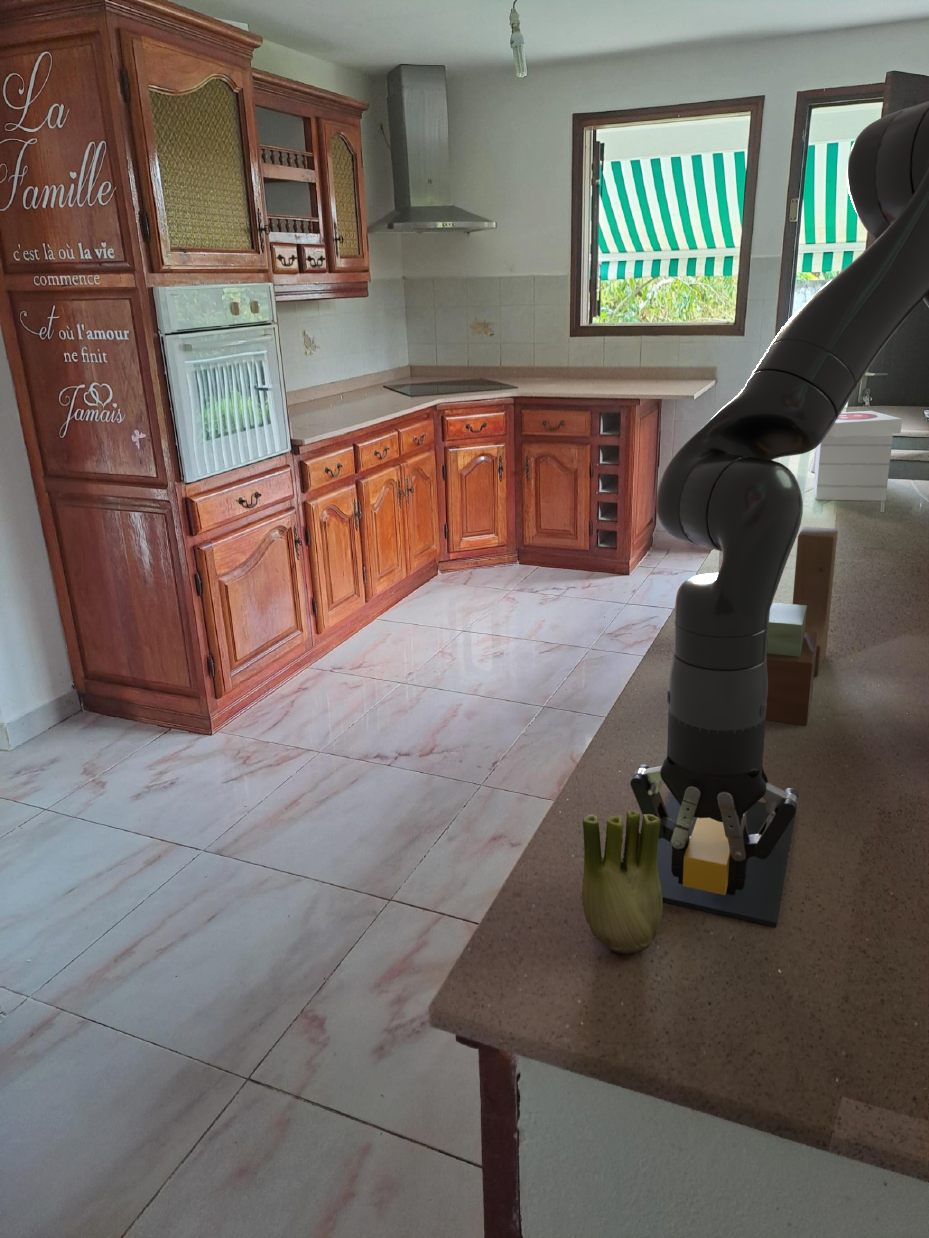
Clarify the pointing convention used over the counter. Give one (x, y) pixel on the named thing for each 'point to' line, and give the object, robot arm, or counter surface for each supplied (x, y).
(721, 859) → the bar
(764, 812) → the mat
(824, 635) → the wooden block
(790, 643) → the green-topped brown box
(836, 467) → the pizza boxes
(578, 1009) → the counter surface
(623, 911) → the fennel bulb
